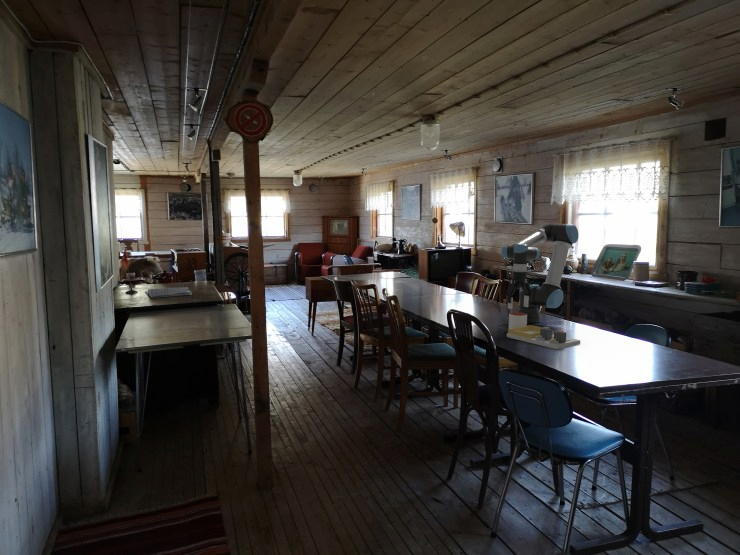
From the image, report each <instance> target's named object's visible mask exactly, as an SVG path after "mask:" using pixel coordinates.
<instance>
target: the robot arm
mask: <svg viewBox="0 0 740 555" xmlns="http://www.w3.org/2000/svg"><path fill="white" fill-rule="evenodd" d="M578 241H579V230H578V228H577V226H576V225H575V224H573V223H572V224H571V223H549V224H546V225H543V226H541V227H539V228H537V229H535V230H534V231H533V232H532V233H531V234H530V235H527V236H526V237H525V238H522V239H521V240H519V241H517V242H516V243H514V244H512V245H505V246H502V248H501V251H500V252H501V257H502V258H503V259H507V260H513V265H512V266H513V267H512V268H513V269H512V278H513V279H510V280H509V283H508V287H507V289H506V292H505V294H504V296H505V297H506V298H507V309H509V310H513V302H514V298H513V296H514V294H515V292H516V291H517V289H518V288H519V296H518V298H519V302H518V310H517V313H524V314H527V324H532V323H533V324H536V323H540V322H541V314H540V312H539V307H542V308H543V307H544V308H549V309H556V308H558V307H560V306H561V305H562V303H563V302H564V291H563V290H562V287H561V281H562V277H563V274H564V269H565V265H566V260H567V257H568V254H569V250H570V249H571V248H572V247H573V244H576V243H577V242H578ZM544 243H552V245H553V246H554V247H553V251H552V254H551V255H552V256H551V258H550V262H549V266H548V269H547V274H546V278H545V282H543V283H542V284H541V287H540V285H539V284H530V279H529V278H527V271H528V261H536V260H538V259H539V258H540V255H541V251H540V249H539V248H538V247H536V246H538V245H539V244H544Z"/></svg>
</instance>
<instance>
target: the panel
mask: <svg viewBox="0 0 740 555" xmlns="http://www.w3.org/2000/svg"><path fill="white" fill-rule="evenodd" d="M542 328H543V327H542V326H536V325H532V324H531V325H527V326H523V327H517V328H511V329H509V328H508V330H507V333H506V337H507V338H509V339H514V340H517V341H522V342H525V343H528V344H529V343H530V344H534V345H537V346H543V347H545V348H549V349H553V350H557V349H564V348H569V347H572V346H577V345H581V340H580V339H576V338H573V337H568V336H566V342H564V343H559V341H556V339H554V329H552V339H548V340H546V339H545V338H542V336H540V329H542Z"/></svg>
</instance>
